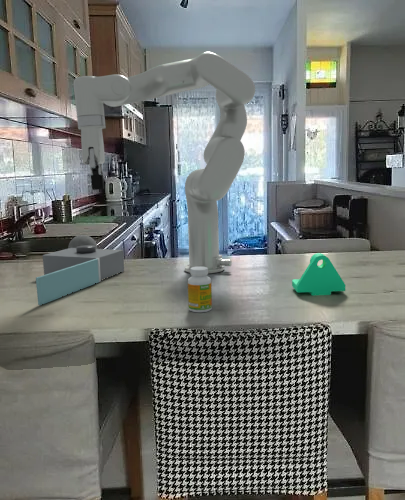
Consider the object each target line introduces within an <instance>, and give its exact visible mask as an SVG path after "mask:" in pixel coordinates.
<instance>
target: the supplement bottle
mask: <svg viewBox="0 0 405 500" xmlns="http://www.w3.org/2000/svg"><path fill="white" fill-rule="evenodd" d="M189 274H190V275H191V276H190V277H188V279H187V296H188V297H187V299H188V300H187V301H188V302H187V304H188V310H189V311H190V312H192V313H207V312H210V311H211V310H212V309H213V299H212V297H213V295H212V294H213V293H212V292H213V291H212V290H213V289H212V278H211V277H210V276H208V275H209V274H208V268H207V267H192V268H190V273H189Z"/></svg>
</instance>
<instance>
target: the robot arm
mask: <svg viewBox="0 0 405 500" xmlns="http://www.w3.org/2000/svg"><path fill="white" fill-rule="evenodd" d="M209 85H210V86H212V88H214V89H216V90H215V101H216V103H217V105H218V108H219V111H220V117H219V119H218V123H217V125H216V127H215V130H214V131H213V134H212V135H211V137H210V139H209V140H208V143H207V144H206V146H205V147H204V148H205V149H204V150H203V159H204V162H205V165H206V166H205V167H204V168H198V169H195V170H193V171H192V172H190V173H189V174H188V175H187V177H186V179H185V182H184V193H185V199H186V200H185V201H186V205H187V206H186V208H187V228H188V229H187V232H188V233H187V234H188V235H187V236H188V258H189V259H188V262H189V264H187V265H185V266H184V271H185V272H186V273H189V274H191V273H190V268H192V267H207V268H208V275H209V274H215V273H220V272H223V271H224V270H225V267H232V264H233V263H232V260H231V259H229V258H228V259H227V258H226V259H224V258H223V254H220V240H219V238H220V236H219V235H220V233H219V232H220V231H219V230H220V229H219V207H218V201H221V199H223V198H224V197H226V194H227V193H228V192H229V190H230V188H231V187H232V185H233V182H234V181H235V179H236V177H237V175H238V173H239V172H240V169H241V167H242V165H243V162H244V160H245V155H246V153H245V151H246V150H245V147H244V144H243V142H242V141H241V140H242V138H243V136H244V133H245V131H246V129H247V125H248V116H247V111H246V110H247V109H246V107H245V105H247V104H248V103H250V102H251V101H252V100H253V99H254V96H255V94H256V86H255V83H254V80H253V79H252V77H250V76H249V75H248V74H246V73H245V72H244V71H242V70H241V69H239V68H238V67H237V66H235V65H234V64H232V63H231V62H229V61H228V60H226V59H225V58H223V57H222V56H220V55H219V54H216V53H214V52H212V51H205V52H202V53H200V54H198V55H197V56H196V57H193V58H189V59H184V60H183V59H182V60H179V61H178V60H177V61H174V62H169V63H164V64H159V65H156V66H154V67H151V68H149V69H147V70H146V71H144V72H141V73H138V74H135V75H131V76H128V77H126V76H124V75H121V74H115V73H114V74H108V75H102V76H95V75H94V76H93V75H83V76H78V77H76V78H74V80H73V90H74V91H73V92H74V102H75V109H76V110H75V112H76V119H77V128H78V129H77V130H79V131H80V141H81V156H82V163H83V164H84V165H85V166H86V165H89V170H90V180H91V188H92V190H93V191H95V190H96V191H97V190H104V189H105V181H104V180H105V179H104V174H103V164H104V163H105V162H106V156H105V155H106V154H105V144H104V137H103V130H104V129H106V119H105V107H104V104H105V105H106V106H108V107H112V108H113V107H115V108H116V107H120V106H125V105H129V104H135V103H139V102H143V101H146V100H152V99H157V98H162V97H165V96H170V95H174V94H178V93H183V92H188V91H193V90H197V89H202V88H205V87H207V86H209Z"/></svg>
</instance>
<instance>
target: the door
mask: <svg viewBox="0 0 405 500" xmlns="http://www.w3.org/2000/svg"><path fill="white" fill-rule="evenodd" d="M101 282H102V281H101V276H100V261H99V258H96V259H94V260H90V261H87V262H84V263H81V264H78V265H75V266H71V267H68V268H65V269H62V270H59V271H55V272H52V273H49V274H46V275H44V274H43V275H40V276H37V277H35V283H36V295H37V305H38V306H42V304H43V305H45V304H47V303H48V304H49V303H50V302H52V301H56V300H58V299H61V298H62V296H63V297H65V296H67V294H68V295H70V294H73V293H75V292H77V291H78V292H79V291H81V290H82V289H86V288H88V287H90V286H93V285H96V284H99V283H101ZM95 283H96V284H95ZM80 289H81V290H80ZM72 292H73V293H72Z"/></svg>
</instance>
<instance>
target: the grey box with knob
mask: <svg viewBox="0 0 405 500" xmlns="http://www.w3.org/2000/svg"><path fill="white" fill-rule="evenodd" d="M96 258H99V261H100V276H101V280H102V279H104V278H107V277H110V276H112V275H115V274H117V273H120V272H122V273H124V272H125V260H124V250H123V249H110V248H109V249H108V248H107V249H106V248H105V249H104V248H97V249H96V246H94V245H84V246H78V247H76V248H65V249H62V250H57V251H54V252H50V253H46V254H42V265H43V267H42V268H43V275H46V274H49V273H52V272H55V271H59V270H62V269H65V268H68V267H71V266H75V265H78V264H81V263H84V262H87V261H90V260H94V259H96ZM123 271H124V272H123ZM120 274H121V273H120ZM117 275H118V274H117ZM115 276H116V275H115ZM112 277H113V276H112ZM110 278H111V277H110ZM107 279H108V278H107ZM102 281H103V280H102Z"/></svg>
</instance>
